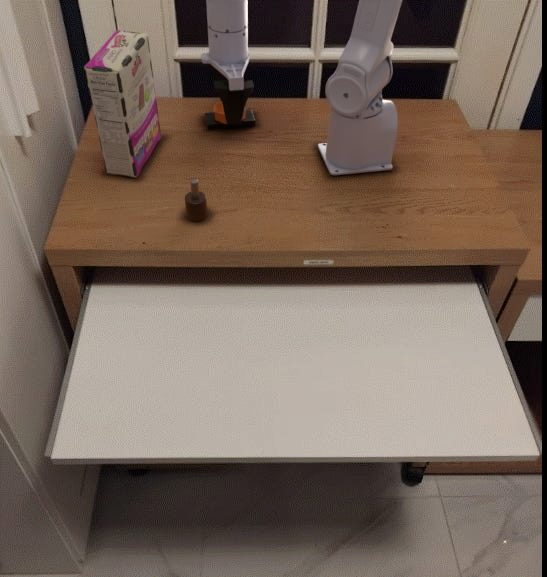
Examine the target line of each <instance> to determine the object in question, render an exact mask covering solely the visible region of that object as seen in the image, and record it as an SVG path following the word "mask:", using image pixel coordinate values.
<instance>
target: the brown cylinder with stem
mask: <svg viewBox="0 0 547 577" xmlns="http://www.w3.org/2000/svg"><path fill="white" fill-rule="evenodd" d="M189 182H190V192H187V193H186V194H185V195H184V205H185V215H186V216H185V217H186V218H187V220H189V221H191V222H202V221H205V220H206V219H207V217H208V203H207V195H206V194H205V193H204V192H203V191H200V186H199V180H198V178H191V179H190V181H189Z"/></svg>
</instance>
